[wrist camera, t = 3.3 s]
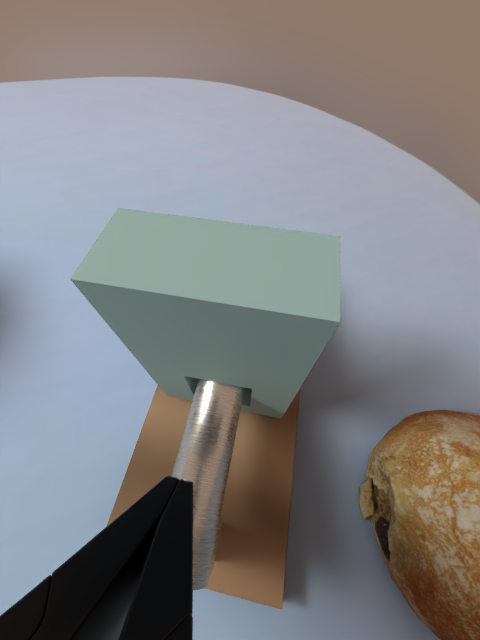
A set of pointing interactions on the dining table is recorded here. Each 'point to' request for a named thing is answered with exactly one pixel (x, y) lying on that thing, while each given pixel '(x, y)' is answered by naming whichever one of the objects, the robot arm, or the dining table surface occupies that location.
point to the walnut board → (229, 493)
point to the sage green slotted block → (216, 302)
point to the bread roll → (430, 517)
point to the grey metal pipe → (208, 466)
